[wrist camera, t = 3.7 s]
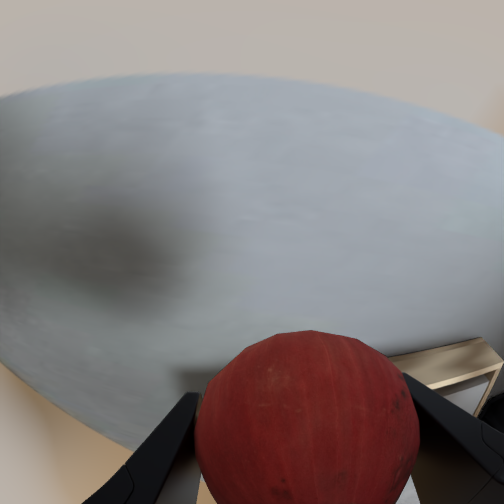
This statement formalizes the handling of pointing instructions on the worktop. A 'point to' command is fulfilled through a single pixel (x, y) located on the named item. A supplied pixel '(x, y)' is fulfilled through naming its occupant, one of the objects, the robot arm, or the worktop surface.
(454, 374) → the wooden compartment tray
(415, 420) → the red rounded piece
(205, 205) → the worktop surface
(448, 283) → the worktop surface
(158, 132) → the worktop surface
